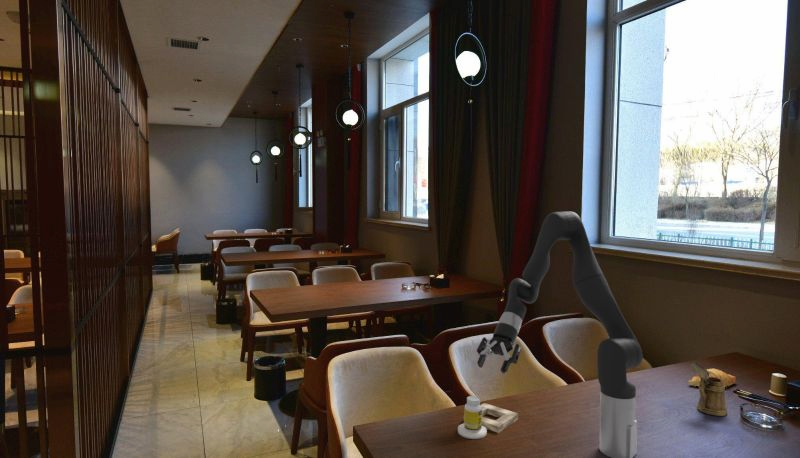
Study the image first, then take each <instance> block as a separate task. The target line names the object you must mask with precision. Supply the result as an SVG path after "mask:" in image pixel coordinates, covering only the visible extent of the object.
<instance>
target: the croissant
mask: <svg viewBox="0 0 800 458" xmlns="http://www.w3.org/2000/svg"><path fill="white" fill-rule="evenodd" d="M705 369H706V368H705ZM706 370H707V372H708V373H709V376H710V377H716V378H719V379H721V380H723V384H724V386H725V387H726V388H728V387H730V386H731V385H735V383H736V381H737V380H738V377H737V376H734V375H731V374H728V373H726V372H724V371H723V370H721V369H717V368H713V367H712V368H707V369H706ZM700 380H701V379H700V377H699V376H697V375H695V376H693V377H692V378H691V379H689V380H688V385H690V386H692V387H696V386H698V387H697V388H699V385H700ZM727 386H728V387H727Z"/></svg>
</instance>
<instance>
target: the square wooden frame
mask: <svg viewBox="0 0 800 458" xmlns="http://www.w3.org/2000/svg"><path fill="white" fill-rule="evenodd" d="M480 405H481V407H482V425H483V426H484V427H485V428H486V429H487V430H490V431H492V432H495V433H497V434H499V433H501V432H502V431H504V430H505V429H507V427H509V426H511V425H512V424H513V423H515V422H516V421H518V420H519V413H518V412H514V411H511V410H508V409H504V408H501V407H498V406H495V405H492V404H489V403H485V402H484V403H481V404H480ZM486 415H490V416H493V417H495V418H496V417H497V419H491V418H488V417H484V416H486Z"/></svg>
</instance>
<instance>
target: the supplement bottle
mask: <svg viewBox="0 0 800 458" xmlns="http://www.w3.org/2000/svg"><path fill="white" fill-rule="evenodd" d="M480 403H481V399H480V397H479V396H477V395H469V396H467V397H466V403H465V405H464V413H463V423H464V428H465V430H467V431H469V432H479V431H480V430H481V427H482V407H481V405H482V404H480Z"/></svg>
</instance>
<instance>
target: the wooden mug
mask: <svg viewBox="0 0 800 458" xmlns="http://www.w3.org/2000/svg"><path fill="white" fill-rule="evenodd" d="M690 368H691V370H692V372H693V373H694V374H695V376H699V377H700V379H701V380H700V385H699V387H698V388H699V389H698V390H699V391H698V392H699V398H698V402H697V403H696V404H697V405H696V409H697V410H698V411H699V412H701V413H704V414H706V415H710V416H713V415H714V417H725V416H727V415H728V408H727V405H726V403H727V402H726V396H725V391H726V388H725V386H724V384H723V380H721V379H719V378H716V377H710V376H709V373H708V372H707V370H706V368H705V367H703V366H702V365H700V364H698V363H697V362H693V363H691V364H690ZM726 414H727V415H726Z"/></svg>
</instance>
